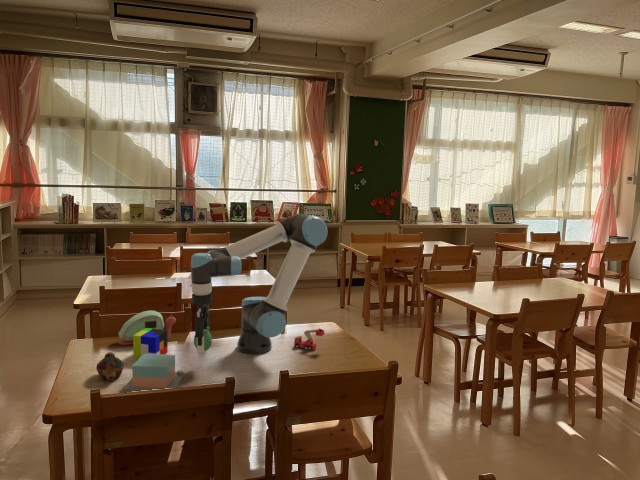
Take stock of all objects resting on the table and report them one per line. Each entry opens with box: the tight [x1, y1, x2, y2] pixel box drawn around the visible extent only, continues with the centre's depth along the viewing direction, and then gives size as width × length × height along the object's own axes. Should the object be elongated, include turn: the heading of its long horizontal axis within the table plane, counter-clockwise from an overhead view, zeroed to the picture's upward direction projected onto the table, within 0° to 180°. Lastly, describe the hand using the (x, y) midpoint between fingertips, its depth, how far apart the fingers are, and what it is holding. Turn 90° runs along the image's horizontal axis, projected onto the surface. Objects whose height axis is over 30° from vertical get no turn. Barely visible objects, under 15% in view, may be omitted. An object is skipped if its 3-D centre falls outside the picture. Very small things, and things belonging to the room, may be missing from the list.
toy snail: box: [117, 310, 177, 346], centre depth 239 cm, size 25×8×14 cm, turn 116°
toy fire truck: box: [293, 328, 325, 351], centre depth 237 cm, size 3×14×10 cm, turn 68°
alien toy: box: [193, 327, 213, 352], centre depth 209 cm, size 7×8×10 cm
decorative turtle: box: [96, 351, 125, 381], centre depth 199 cm, size 10×15×8 cm, turn 28°
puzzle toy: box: [132, 328, 169, 360], centre depth 222 cm, size 10×10×10 cm
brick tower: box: [120, 354, 186, 392], centre depth 195 cm, size 18×18×9 cm
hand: (203, 348), depth 210 cm, fingers closed on alien toy, 8 cm apart
